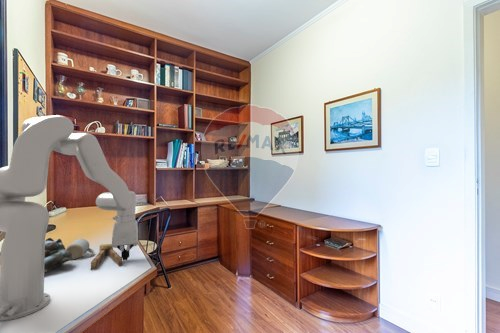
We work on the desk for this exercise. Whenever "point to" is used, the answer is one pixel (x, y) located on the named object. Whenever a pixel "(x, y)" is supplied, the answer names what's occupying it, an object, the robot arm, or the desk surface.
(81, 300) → the desk surface
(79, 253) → the ceramic mug
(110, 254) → the bar
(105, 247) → the collar
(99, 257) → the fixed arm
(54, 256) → the lucky cat figurine
